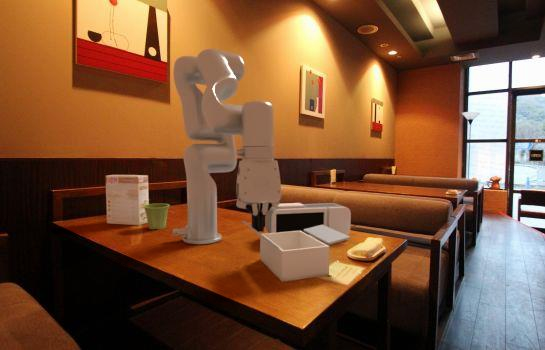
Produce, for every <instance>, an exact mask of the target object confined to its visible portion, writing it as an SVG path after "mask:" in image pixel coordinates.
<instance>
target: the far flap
mask: <svg viewBox="0 0 545 350" xmlns="http://www.w3.org/2000/svg"><path fill="white" fill-rule="evenodd" d="M304 231H305V232H307V233H308V234H310V235H312V236H314V237H316V238H318V239H320V240H319V241H321V242H323V243H324V244H326V245H328V246H330V245H333V244H336V243H340V242H345V241H346V240H351V239H352V238H351V236H350V235H345V234H343V233H341V232H338V231H336V230H334V229H331V228H329V227H327V226H324V225H319V226H315V227H311V228H307V229H304Z"/></svg>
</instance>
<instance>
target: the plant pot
mask: <svg viewBox="0 0 545 350" xmlns="http://www.w3.org/2000/svg"><path fill="white" fill-rule="evenodd" d="M170 206H171V205H170V204H168V203H149V204H148V205H144V206H143V207H144V208H145V211H146V215H147V222H148V223H147V228H148V229H149V230H163V229H165V228H166V226H167V218H168V212H169V211H168V210H169V207H170Z"/></svg>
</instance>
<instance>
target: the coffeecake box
mask: <svg viewBox="0 0 545 350" xmlns="http://www.w3.org/2000/svg"><path fill="white" fill-rule="evenodd" d="M105 198H106V199H105V200H106V203H105V204H106V224H111V225H129V226H141V225H145V224H148V222H147V215H146V211H145V208H144V207H143V206H144V205H148V204H150V202H149V201H150V199H149V175H147V174H145V175H144V174H142V175H140V174H111V175H110V174H109V175H108V174H107V175H105Z"/></svg>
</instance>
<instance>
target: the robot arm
mask: <svg viewBox="0 0 545 350" xmlns="http://www.w3.org/2000/svg"><path fill="white" fill-rule="evenodd" d="M245 70H246V66H245V62H244V60H243V58H242V57H241V56H240V55H238V54H237V53H233V52H229V51H224V50H220V49H214V48H206V49H203V50H201V51H200V52H199V53H198V55H197V56H192V55H183V56H179V57H178V58H176V60H175V61H174V65H173V82H174V85H175V89H176V92H177V94H178V97H179V99H180V102H181V110H182V118H183V127H184V132H185V135H186V137H187V139H189V140H190V141H195V142H211V143H194V144H191V145H188V146H187V147H186V148H185V149H184V152H183V163H184V168H185V170H184V171H185V177H186V194H187V195H186V196H187V197H186V198H187V201H186V202H187V208H186V211H187V215H186V216H187V224H186V225H185V227H182V228H173V229H172V236H178V237H179V236H182V241H183V242H184V243H185V244H186V243H187V244H189V245H208V244H214V243H217V242H219V241H221V240H222V236H223V235H222V234H221V233H219V232H218V204H217V203H218V202H217V201H218V196H217V195H218V192H217V191H218V190H217V183H216V182H215V180H214V179H213V178H212V176H211V174H213V173H214V174H216V173H229V172H232V171H234V170H235V169H236V167H237V163H238V156H239V157H240V158H241V160H239V163H238V169H237V174H236V176H237V177H236V186H235V187H236V190H235V193H236V194H235V195H236V199H237V200H236V203H235V204H236V207H237V208H239V209H244V210H246V211H248V212H249V214H251V227H253V228H254V229H255V230H257V231H258V232H259V233H262V232H263V233H264V232H265V228H266V214H267V212H268V211H269V209H270V208H271V207H274V206H277V205H279V204H281V203H280V200H281V198H282V187H281V185H282V184H281V174H280V169H279V168H280V167H279V164H278V160H276V159H274V157H275V156H274V155H275V150H274V143H275V141H274V137H275V136H274V107H273V104H272V103H270V102H268V101H264V100H253V101H252V100H250V101H248V102H247V101H246V102H245V103H244V104H242V105H240V104H232V103H231V104H230V103H222V102H223V101H227V100H229V99H231V98H232V97H233V96H234V95H235V94H236V93H237V90H238V88H239V83H238V82H240V81H241V80H242V79H243V77H244V75H245ZM197 85H201V86H202V85H203V86H206V88H205V90H204V91H203V92H202V90H201V89H200V88H199V87H198V86H197ZM235 136H241V148H240V149H237V148H236V140H235ZM215 143H216V144H215ZM258 204H259V207H258Z"/></svg>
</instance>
